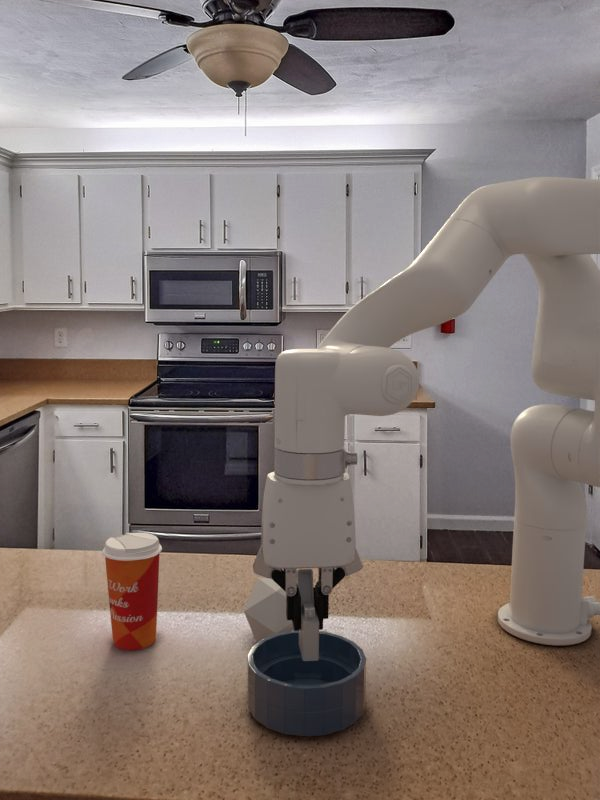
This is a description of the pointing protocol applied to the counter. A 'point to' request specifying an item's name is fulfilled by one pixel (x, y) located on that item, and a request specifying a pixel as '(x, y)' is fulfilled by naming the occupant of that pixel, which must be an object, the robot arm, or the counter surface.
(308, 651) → the lighter
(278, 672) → the bowl
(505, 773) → the counter surface
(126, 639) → the paper cup
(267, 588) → the grey polyhedron
